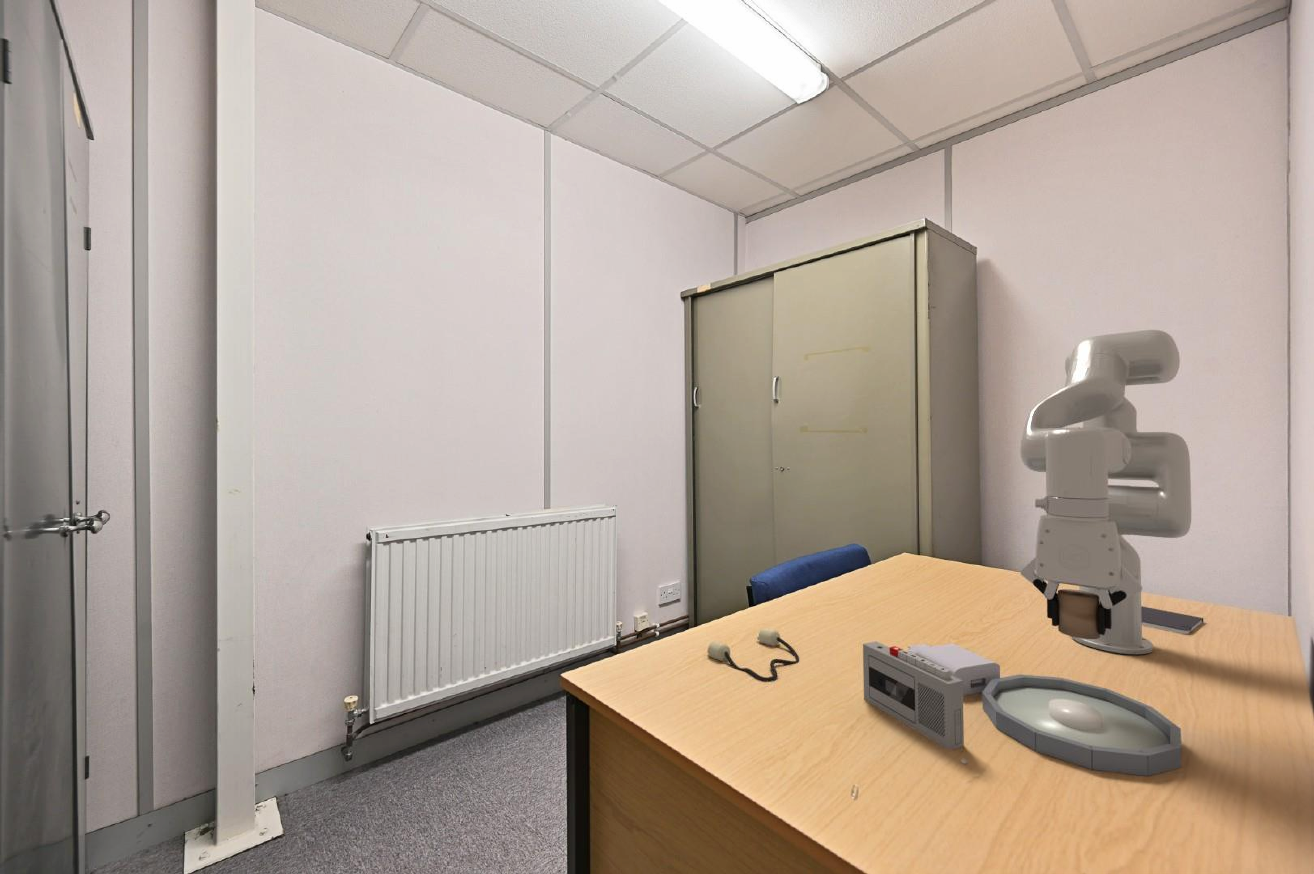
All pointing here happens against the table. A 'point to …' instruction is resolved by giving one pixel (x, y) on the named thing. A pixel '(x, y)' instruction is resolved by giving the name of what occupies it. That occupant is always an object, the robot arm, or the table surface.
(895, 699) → the cassette player
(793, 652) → the cable
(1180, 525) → the robot arm
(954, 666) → the charger
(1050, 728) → the tray
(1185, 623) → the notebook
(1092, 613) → the bead
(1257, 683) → the table surface
